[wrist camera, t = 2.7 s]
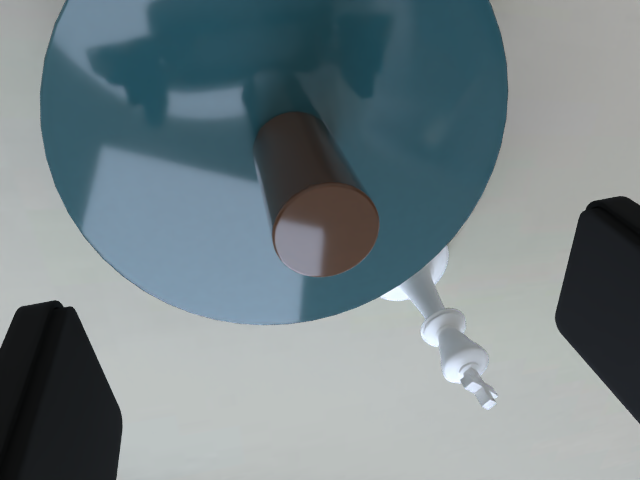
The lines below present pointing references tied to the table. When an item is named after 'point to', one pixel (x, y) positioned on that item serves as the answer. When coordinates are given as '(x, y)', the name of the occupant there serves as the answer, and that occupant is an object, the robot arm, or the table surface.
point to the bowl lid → (272, 144)
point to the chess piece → (446, 330)
